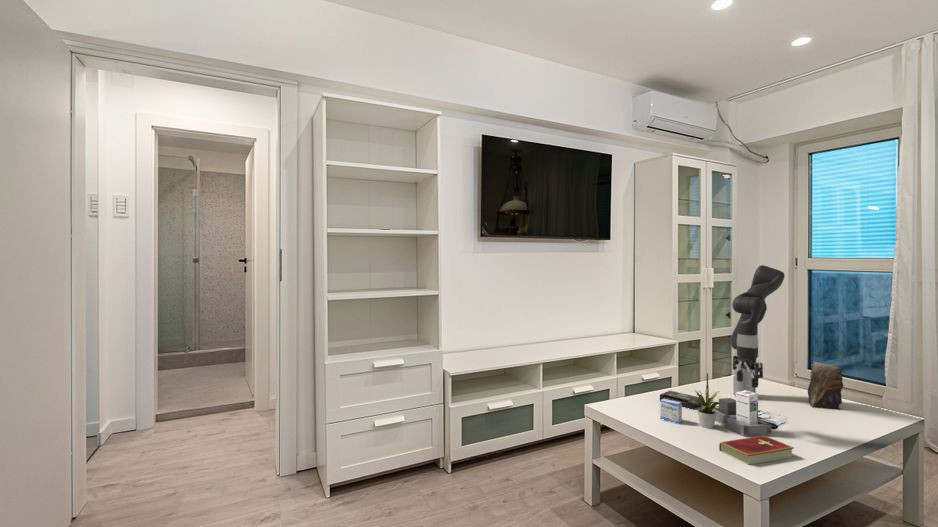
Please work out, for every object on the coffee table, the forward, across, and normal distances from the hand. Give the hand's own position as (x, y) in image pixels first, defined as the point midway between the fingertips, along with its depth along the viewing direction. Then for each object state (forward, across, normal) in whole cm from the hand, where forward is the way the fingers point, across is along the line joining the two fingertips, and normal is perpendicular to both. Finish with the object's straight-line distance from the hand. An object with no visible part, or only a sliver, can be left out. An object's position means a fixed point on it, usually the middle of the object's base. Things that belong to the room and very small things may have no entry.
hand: (747, 384), depth 184 cm
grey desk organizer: (+19, -8, 0) cm, 21 cm away
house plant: (+19, -6, -15) cm, 25 cm away
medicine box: (+20, -14, -25) cm, 35 cm away
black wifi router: (+20, -34, -6) cm, 40 cm away
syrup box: (+18, 0, 0) cm, 18 cm away
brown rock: (+20, -24, +57) cm, 65 cm away
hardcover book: (+20, +21, -13) cm, 32 cm away
